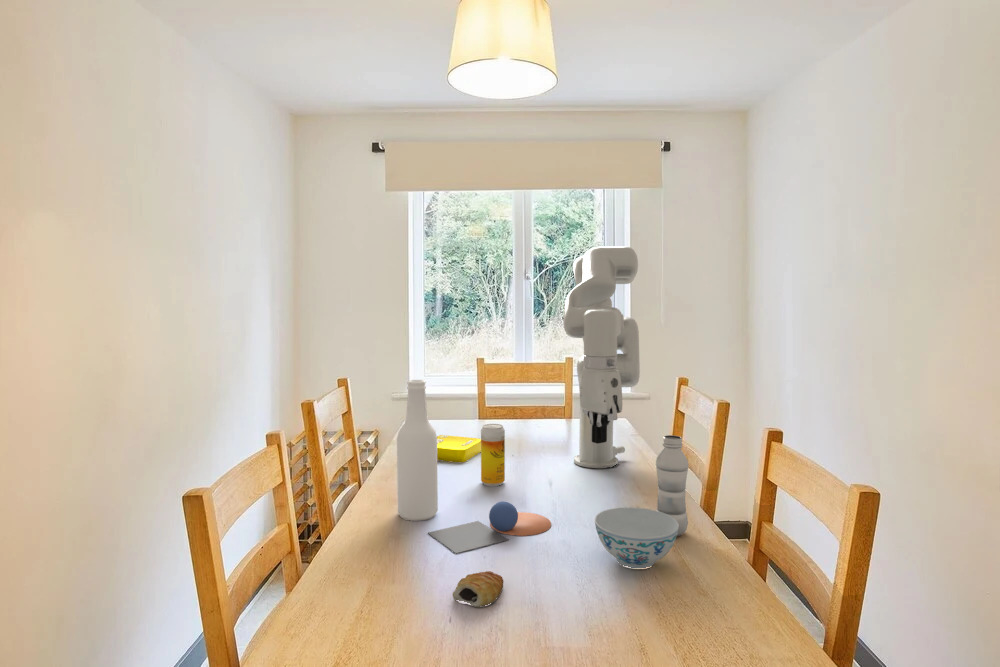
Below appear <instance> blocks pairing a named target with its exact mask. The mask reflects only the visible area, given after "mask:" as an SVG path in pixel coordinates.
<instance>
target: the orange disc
mask: <svg viewBox="0 0 1000 667" xmlns="http://www.w3.org/2000/svg"><path fill="white" fill-rule="evenodd" d="M517 513H518V520H517V523H516V525H515V526H514V527H513V528H512V529H511V530H509V531H499V530H497V529H495V528H494V527H493V526H492V525H491V523H490V522H489V524H490V527H491V529H492V530H494V531H495V530H496V532H497V533H499V534H503V535H507V534H509V536H514V535H517V537H518V536H519V537H526V536H527V535H529V536H534V535H535V534H536V535H539V533H540V534H543V533H544V532H547V531H549V529H551V526H552V522H551V520H550V519H549V518H548V517H546V516H543V515H541V514H538V513H533V512H527V511H526V512H525V511H524V512H523V511H521V512H520V511H519V512H518V511H517ZM542 532H543V533H542Z"/></svg>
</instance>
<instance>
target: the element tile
mask: <svg viewBox="0 0 1000 667" xmlns="http://www.w3.org/2000/svg"><path fill="white" fill-rule="evenodd" d="M480 452H481V438H477V437H468V436H466V437H465V436H458V435H448V434H447V435H446V434H439V435H437V461H438V460H443V461H442V462H447V461H452V462H451V463H456V462H462V463H466V462H468V461H469V460H471V459H473V458H474V457H476V456H477V455H479V454H481V453H480ZM478 453H479V454H478ZM475 455H476V456H475ZM472 457H473V458H472ZM467 460H468V461H467Z"/></svg>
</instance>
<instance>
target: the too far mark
mask: <svg viewBox="0 0 1000 667" xmlns="http://www.w3.org/2000/svg"><path fill="white" fill-rule="evenodd" d="M427 534H428V535H429V536H431V537H432V538H433V539H434V540H436V541H437V540H438V541H437V542H439V543H440V542H441V543H442V545H443V546H444V547H446V548H447V549H448V548H449V549H448V550H450V551H451V552H452V551H453V552H452V553H454V554H455V553H456V555H457V553H459V554H462V553H465V552H470V551H473V550H477V548H478V549H481V548H480V547H482V548H485V547H488V546H487V545H489V546H492V545H491V544H493V545H496V544H495V543H497V544H500V543H499V542H501V543H504V542H503V541H505V542H508V541H507V540H510V539H509V538H507V537H506V536H504V535H502V533H500V532H497V531H495V530H494V529H493V528H492V527H491V528H490V527H489V526H487V525H485V524H484V523H482V522H481V521H479V520H476V521H472V522H467V523H464V524H458V525H455V526H450V527H446V528H442V529H438V530H437V529H436V530H433V531H429V532H427ZM441 543H440V544H441ZM484 546H485V547H484Z"/></svg>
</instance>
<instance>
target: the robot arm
mask: <svg viewBox="0 0 1000 667" xmlns="http://www.w3.org/2000/svg"><path fill="white" fill-rule="evenodd" d="M638 268H639V259H638V255H637V252H635V249H633V248H632V247H628V246H596V247H592V248H590V249H589V250H587V251H586V252H585V253H584V255H582V256H579V257H577V258H576V259H575V260H574V263H573V275H574V281H575V285H576V286H575V287H574V288H573V289H572V290H571V291H570V292H569V293H568V294H567V296H566V299H565V301H564V306H563V307H564V308H563V309H564V310H563V328H564V331H565V334H566V335H567V336H569V337H570V338H573V339H574V338H575V339H582V342H583V355H582V356H580V357H579V358H578V360H577V363H576V371H577V372H576V373H577V380H578V389H579V390H578V391H579V438H578V439H579V450H578V451H579V452H578V454H577V455H575V456H574V458H573V462H574V464H575V465H577V466H580V467H584V468H588V469H608V468H607V467H610V468H613V467H612V466H614V465H616V464H617V465H619V459H618V457H616V456H617V455H618V454H624V453H625V452H626V448H625V446H617V447H616V446H614V421H617V420H619V419H618V414H619V413H622V411H623V388H632V387H633V388H634V387H636V386H637V385H638V383H639V381H640V376H641V375H640V372H641V369H640V364H641V363H640V335H639V332H640V331H639V326H638V323H637V321H636V320H635V319H634V318H632V317H629V316H625V315H624V314H623V313H622V312H621V310H620V309H619V308H617V307H613V302H612V299H611V297H613V295H614V294H615V293H616V289H617V285H628V284H632V282H633V281H634V280H635V277H636V276H637V274H638ZM618 351H621V352H622V353H618ZM617 465H616V466H617ZM614 467H615V466H614Z"/></svg>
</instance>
